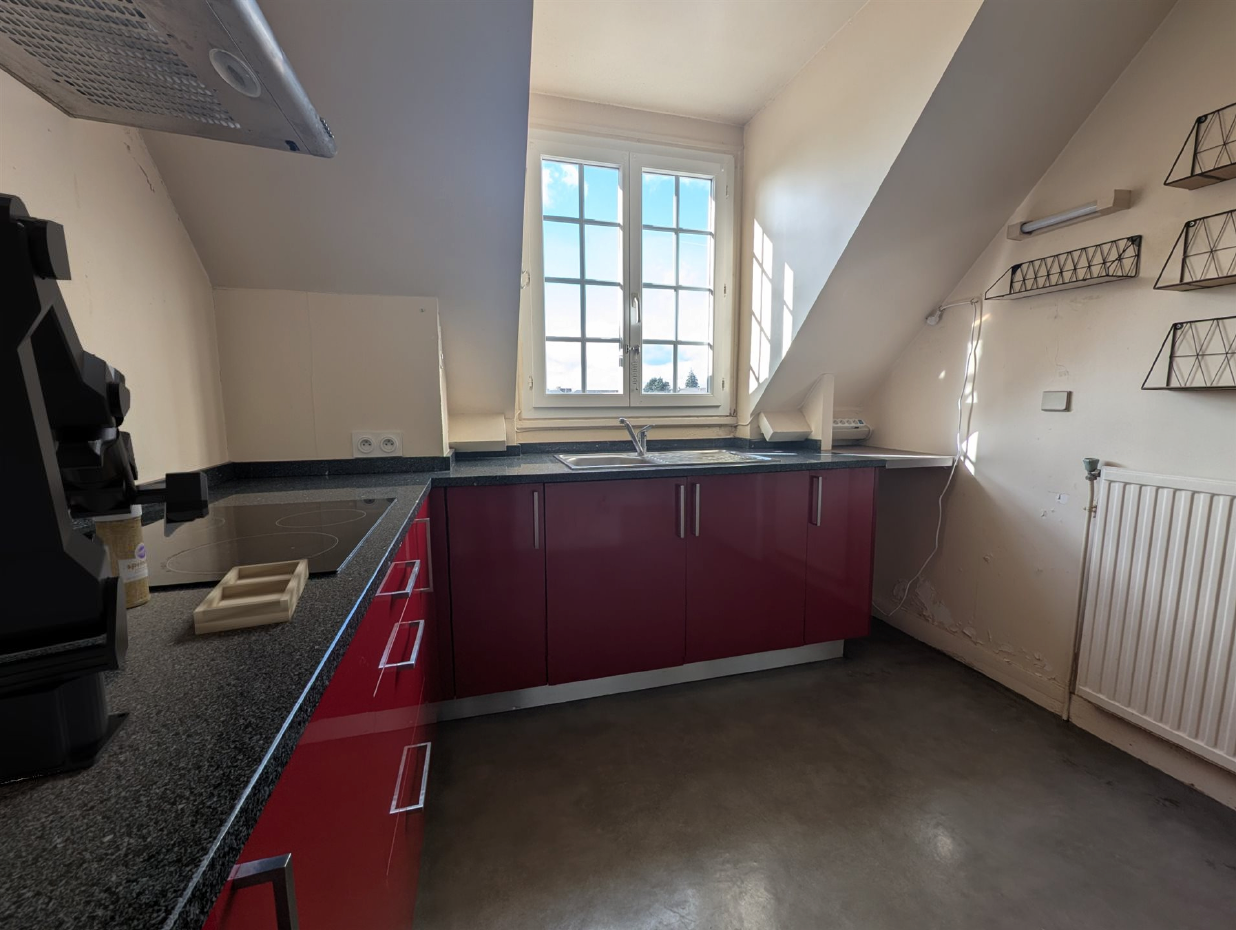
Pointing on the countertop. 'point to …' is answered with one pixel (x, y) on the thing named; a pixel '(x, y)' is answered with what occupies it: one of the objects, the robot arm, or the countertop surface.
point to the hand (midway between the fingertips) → (119, 539)
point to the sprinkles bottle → (126, 552)
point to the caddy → (252, 596)
